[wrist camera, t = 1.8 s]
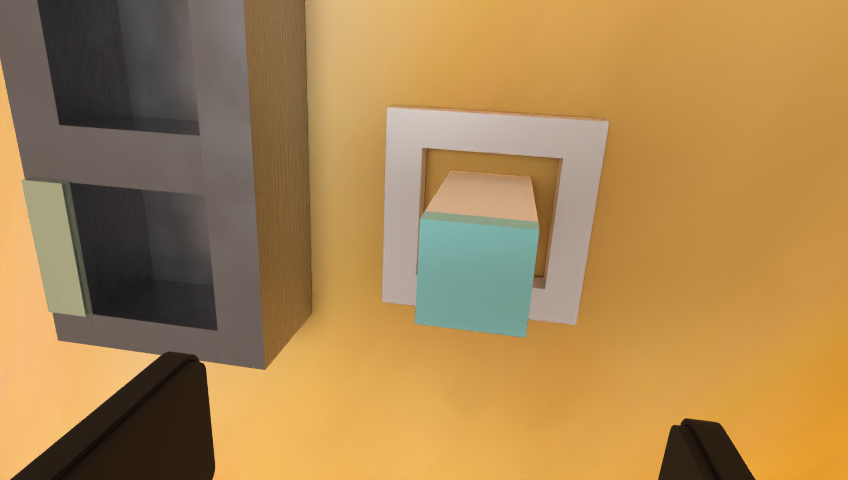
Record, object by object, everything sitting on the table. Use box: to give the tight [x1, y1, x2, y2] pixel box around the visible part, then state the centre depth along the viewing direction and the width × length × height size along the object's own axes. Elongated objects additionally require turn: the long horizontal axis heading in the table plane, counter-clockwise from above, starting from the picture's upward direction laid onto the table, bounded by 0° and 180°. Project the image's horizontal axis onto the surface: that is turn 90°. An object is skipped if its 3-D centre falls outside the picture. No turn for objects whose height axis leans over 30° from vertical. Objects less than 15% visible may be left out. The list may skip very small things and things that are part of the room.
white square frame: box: [382, 105, 609, 325], centre depth 25 cm, size 10×10×2 cm
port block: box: [0, 0, 312, 370], centre depth 25 cm, size 11×19×6 cm, turn 177°
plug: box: [415, 170, 540, 337], centre depth 22 cm, size 4×4×9 cm
